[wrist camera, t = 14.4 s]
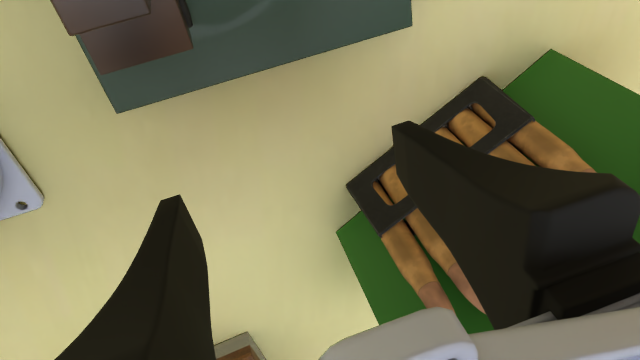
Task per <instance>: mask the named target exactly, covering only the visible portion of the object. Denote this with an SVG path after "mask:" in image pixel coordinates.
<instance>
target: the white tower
mask: <svg viewBox="0 0 640 360" xmlns="http://www.w3.org/2000/svg"><path fill="white" fill-rule="evenodd" d="M214 350H215V356H216V360H266V359H265V357H264V356H263V354H262V353H261V351H260V350H259V348H258V347H257V345H256V344H255V342H254V341H253V339H252V338H251V336H250V335H249V333H248V332H246V333H243V334H241V335H239V336H236V337H234V338H232V339H229V340H227V341H224V342H222V343H220V344H217V345H215V346H214Z"/></svg>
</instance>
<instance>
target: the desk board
mask: <svg viewBox="0 0 640 360" xmlns="http://www.w3.org/2000/svg"><path fill="white" fill-rule="evenodd" d="M186 3H187V6H188V9H189V11H190V14H191V19H192V23H193V26H192V27H190V28H189V31H190V33H191V37H192V42H193V49H191V50H188V51H184V52H181V53H177V54H174V55H170V56H167V57H163V58H160V59H156V60H153V61H150V62H146V63H143V64H139V65H136V66H132V67H129V68H125V69H122V70H118V71H115V72H111V73H108V74H104V75H100V73H99V71H98V70H97V68H96V66H95V64H94V62H93V60H92V58H91V56H90V54H89V52H88V50H87V48H86V47H85V45H84V43H83V41H82V39H81V37H80V35H79V34H78V35H75V36H76V38H77V40H78V42H79V44H80V45H81V47H82V49H83V51H84V53H85V55H86V57H87V59H88V61H89V62H90V64H91V66H92V68H93V70H94V72H95V74H96V76H97V78H98V79H99V81H100V83H101V85H102V87H103V89H104V91H105V93H106V95H107V97H108V98H109V100H110V102H111V104H112V106H113V108H114V110H115V112H116V113H117V114H118V113H122V112H125V111H128V110H132V109H135V108H139V107H142V106H145V105H149V104H152V103H155V102H159V101H162V100H165V99H169V98H172V97H175V96H179V95H182V94H185V93H189V92H192V91H196V90H199V89H202V88H206V87H209V86H212V85H216V84H219V83H222V82H226V81H229V80H232V79H236V78H239V77H243V76H246V75H249V74H253V73H256V72H259V71H263V70H266V69H269V68H273V67H276V66H279V65H283V64H286V63H290V62H293V61H296V60H300V59H303V58H306V57H310V56H313V55H316V54H320V53H323V52H326V51H330V50H333V49H337V48H340V47H343V46H347V45H350V44H353V43H357V42H360V41H363V40H367V39H370V38H373V37H377V36H380V35H383V34H387V33H390V32H394V31H397V30H400V29H404V28H407V27H410V26H412V10H411V0H186Z"/></svg>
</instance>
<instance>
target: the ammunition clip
mask: <svg viewBox="0 0 640 360" xmlns="http://www.w3.org/2000/svg"><path fill="white" fill-rule="evenodd" d="M485 122H486V123H485ZM488 124H489V125H490V126H491V127H492V128H493V129H492V128H491V127H490V126H489V125H488ZM420 126H422V127H424V128H426V129H428V130H430V131H432V132H434V133H437V134H439V135H441V136H443V137H445V138H448V139H450V140H452V141H454V142H457V143H459V144H462V143H461V142H460V141H459V140H461V141H462V142H463V143H464V144H465V145H466V146H467V147H469V148H472V149H475V150H477V151H480V152H483V153H486V154H489V155H492V156H495V157H499V158H503V159H506V160H510V161H514V162H518V163H522V164H528V165H533V166H535V165H534V164H533V163H532V162H531V161H530V160H528V159H527V158H526V157H525V156H524V155H523V154H525V155H526V156H527V157H528V158H529V159H531V160H532V161H533V162H534V163H535V164H537V165H538V166H539V167H543V168H550V169H557V170H566V171H575V172H592V173H597V172H596V171H595V170H594V169H593V168H592V167H590V166H589V165H588V164H587V163H586V162H584V161H583V160H582V159H581V158H580V156H579V155H578V154H577V153H576V152H575V151H574V149H572V148H571V147H570V146H569V145H567V144H566V143H565V142H563V141H562V140H561V139H559V138H558V137H557V136H555V135H554V134H553V133H551V132H550V131H549V130H547V129H546V128H545V127H543V126H542V125H540V124H539V123H538V122H536V121H535V118H534V117H533V116H532V115H531V114H530V113H528V112H527V111H526V110H525V109H524V108H522V107H521V106H520V105H519V104H518V103H516V102H515V101H514V100H513V99H512V98H510V97H509V96H508V95H507V94H506V93H504V92H503V91H502V90H501V89H499V88H498V87H497V86H496V85H495V84H493V83H492V82H491V81H490V80H489V79H487V78H486V77H480V78H479V79H478V80H477V81H475V82H474V83H473V84H472V85H470V86H469V87H468V88H467V89H465V90H464V91H463V92H462V93H460V94H459V95H458V96H457V97H455V98H454V99H453V100H452V101H450V102H449V103H448V104H447V105H445V106H444V107H443V108H442V109H440V110H439V111H438V112H437V113H435V114H434V115H433V116H432V117H430V118H429V119H428V120H427V121H425V122H424V123H423V124H422V125H420ZM462 145H463V144H462ZM346 188H347V189H348V191H349V192H350V194H351V195H352V197H353V198H354V200H355V201H356V203H357V204H358V206H359V207H360V209H361V210H362V212H363V213H364V215H365V216H366V218H367V219H368V221H369V222H370V224H371V225H372V227H373V228H374V230H375V231H376V233H377V235H378V236H379V237H380V238H381V240H382V242H383V243H384V245H385V247H386V248H387V250H388V252H389V254H390V255H391V257H392V259H393V260H394V262H395V264H396V266H397V267H398V269H399V271H400V272H401V274H402V276H403V277H404V278H405V279H406V281H407V282H408V283H409V284H410V285H411V286H412V287H413V289H414V290H415V292H416V293H417V295H418V296H419V297H420V299H421V300H422V302H423V303H424V305H425V307H426V308H427V309H428V308H433V307H442V308H446V309H449V310H453V312H454V313H455V311H454V309H453V307H452V305H451V303H450V301H449V299H448V297H447V295H446V293H445V292H444V290H443V288H442V287H441V284H440V282H439V281H438V279H437V277H436V276H435V274H434V271H433V268H432V266H431V263H430V261H429V259H428V258H427V256H426V254H425V253H424V251H423V250H422V248H421V247H420V245H419V244H418V242H417V240H416V239H415V237H414V236H415V235H416V236H417V237H418V239H419V240H420V242H421V243H422V245H423V246H424V247H425V249H426V250H427V252H428V253H429V255H430V256H431V257H432V258H433V259H434V260H435V261H436V262H437V263H438V264H439V265H440V266H441V267H442V269H443V270H444V271H445V273H446V274H447V275H448V276H449V277H450V278H451V280H452V281H453V283H454V284H455V285H456V287H457V288H458V289H459V291H460V292H461V293H462V294H463V295H464V296H465V297H466V298H467V299H468V300H469V301H470V302H471V303H472V304H473V305H474V306H475V307H476V308H477V309H479V310H480V311H481V312H483V313H484V314H486V313H485V311H484V309H483V307H482V306H481V304H480V302H479V300H478V298H477V296H476V294H475V293H474V291H473V289H472V287H471V286H470V284H469V282H468V280H467V279H466V277H465V275H464V273H463V272H462V270H461V268H460V267H459V265H458V263H457V262H456V260H455V258H454V257H453V255H452V253H451V252H450V250H449V249H448V247H447V246H446V245H445V243H444V242H443V240H442V239H441V238H440V237H439V235H438V234H437V233H436V231H435V230H434V229H433V227H432V226H431V225H430V224H429V222H428V221H427V220H426V218H425V217H424V216H423V214H422V213H421V212H420V211H419V209H418V208H417V207H416V205H415V204H414V203H413V201H412V200H411V199H410V197H409V196H408V194H407V192H406V190H405V189H404V187H403V185H402V183H401V181H400V180H399V178H398V176H397V174H396V164H395V154H394V147H393V148H392V149H390V150H389V151H388V152H387V153H385V154H384V155H383V156H382V157H380V158H379V159H378V160H377V161H375V162H374V163H373V164H372V165H370V166H369V167H368V168H367V169H365V170H364V171H363V172H362V173H360V174H359V175H358V176H357V177H355V178H354V179H353V180H352V181H350V182H349V183H348V184H347V185H346ZM388 196H390V197H391V199H392V200H393V202H394V203H395V205H393V203H392V202H391V200H390V199H389V197H388ZM403 218H405V219H406V220H403ZM455 315H456V314H455Z"/></svg>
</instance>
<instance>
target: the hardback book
mask: <svg viewBox="0 0 640 360" xmlns="http://www.w3.org/2000/svg"><path fill="white" fill-rule="evenodd" d="M503 92H504V93H506V94H507V95H508V96H509V97H510V98H512V99H513V100H514V101H515V102H516V103H518V104H519V105H520V106H521V107H522V108H524V109H525V110H526V111H527V112H528V113H530V114H531V115H532V116H533V117H534V118H535V121H536V122H538V123H539V124H540V125H542V126H543V127H545V128H546V129H547V130H549V131H550V132H551V133H553V134H554V135H555V136H557V137H558V138H559V139H561V140H562V141H563V142H565V143H566V144H567V145H569V146H570V147H571V148H572V149H574V151H575V152H576V153H577V154H578V155H579V156H580V158H581V159H582V160H583V161H584V162H586V163H587V164H588V165H589V166H590V167H592V168H593V169H594V170H595V171H596V172H597V173H611V174H613V175H614V176H616V177H617V178H619V179H620V180H621V181H623V182H624V183H626V184H627V185H628V186H630V187H631V188H633V189H634V190H635V191H636V192H637V193H638V194H639V195H640V95H639V94H637V93H635V92H633V91H631V90H629V89H627V88H625V87H623V86H621V85H619V84H618V83H616V82H614V81H612V80H610V79H608V78H606V77H604V76H602V75H600V74H598V73H596V72H594V71H593V70H591V69H589V68H587V67H585V66H583V65H581V64H579V63H577V62H575V61H573V60H571V59H569V58H568V57H566V56H564V55H562V54H560V53H558V52H556V51H554V50H552V49H551V50H549V51H548V52H547V53H546V54H545V55H544V56H542V57H541V58H540V59H539V60H538V61H537V62H535V63H534V64H533V65H532V66H531V67H530V68H528V69H527V70H526V71H525V72H524V73H522V74H521V75H520V76H519V77H518V78H517V79H515V80H514V81H513V82H512V83H511V84H510V85H508V86H507V87H506V88H505V89H504V90H503ZM485 123H486V122H485ZM488 125H489V124H488ZM489 126H490V125H489ZM490 127H491V126H490ZM491 128H492V127H491ZM492 129H493V128H492ZM459 141H460V142H461V143H462V144H463V145H464V146H466V145H465V144H464V143H463V142H462V141H461V140H459ZM523 155H524V156H525V157H526V158H527V159H528V160H530V161H531V162H532V163H533V164H534V165H535V166H538V165H537V164H535V163H534V162H533V161H532V160H531V159H529V158H528V157H527V156H526V155H525V154H523ZM538 167H539V166H538ZM388 197H389V199H390V200H391V202H392V203H393V205H395V203H394V202H393V200H392V199H391V197H390V196H388ZM403 220H406V219H405V218H403ZM336 233H337V236H338V238H339V240H340V242H341V244H342V246H343V248H344V251H345V253H346V255H347V257H348V259H349V261H350V263H351V266H352V268H353V270H354V272H355V274H356V276H357V278H358V281H359V283H360V285H361V287H362V289H363V291H364V293H365V296H366V298H367V300H368V302H369V304H370V306H371V308H372V311H373V313H374V315H375V317H376V319H377V321H378V323H379V325H382V324H384V323H387V322H390V321H392V320H395V319H398V318H401V317H403V316H406V315H409V314H411V313H414V312H417V311H419V310H423V309H427V308H426V307H425V305H424V303H423V302H422V300H421V299H420V297H419V296H418V295H417V293H416V292H415V290H414V289H413V287H412V286H411V285H410V284H409V283H408V282H407V281H406V279H405V278H404V277H403V276H402V274H401V272H400V271H399V269H398V267H397V266H396V264H395V262H394V260H393V259H392V257H391V255H390V254H389V252H388V250H387V248H386V247H385V245H384V243H383V242H382V240H381V238H380V237H379V236H378V235H377V233H376V231H375V230H374V228H373V227H372V225H371V224H370V222H369V221H368V219H367V218H366V216H365V215H364V213H363V212H362V211H361V212H359V213H358V214H357V215H356V216H355V217H354V218H352V219H351V220H350V221H349V222H348V223H347V224H345V225H344V226H343V227H342V228H341V229H339V230H338V231H337V232H336ZM414 237H415V239H416V240H417V242H418V244H419V245H420V247H421V248H422V250H423V251H424V253H425V254H426V256H427V258H428V259H429V261H430V263H431V266H432V268H433V271H434V274H435V276H436V277H437V279H438V281H439V282H440V284H441V287H442V288H443V290H444V292H445V293H446V295H447V297H448V299H449V301H450V303H451V305H452V307H453V309H454V311H455V314H456V316H457V318H458V320H459V321H460V323H461V324H462V326H463V327H464V329H465V331H466V332H467V334H473V333H480V332H486V331H492V330H494V328H493V326H492V324H491V322H490V320H489V319H488V317H487V315H486V314H484V313H483V312H481V311H480V310H479V309H477V308H476V307H475V306H474V305H473V304H472V303H471V302H470V301H469V300H468V299H467V298H466V297H465V296H464V295H463V294H462V293H461V292H460V291H459V289H458V288H457V287H456V285H455V284H454V283H453V281H452V280H451V278H450V277H449V276H448V275H447V274H446V273H445V271H444V270H443V269H442V267H441V266H440V265H439V264H438V263H437V262H436V261H435V260H434V259H433V258H432V257H431V256H430V255H429V253H428V252H427V250H426V249H425V247H424V246H423V245H422V243H421V242H420V240H419V239H418V237H417V236H416V235H415V236H414ZM632 238H633V239H635V240H636V241H637V242H638V243H639V244H640V216H639V219H638V222H637V225H636V228H635V230H634V233H633V236H632ZM639 253H640V252H639Z"/></svg>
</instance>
